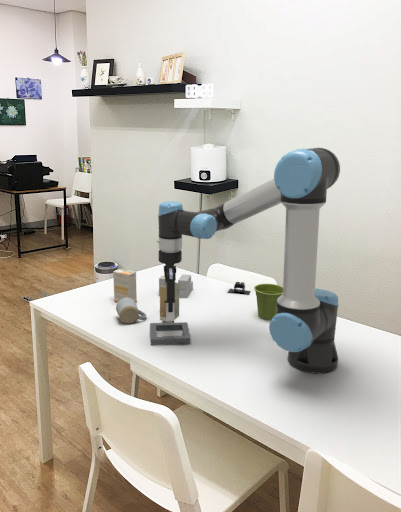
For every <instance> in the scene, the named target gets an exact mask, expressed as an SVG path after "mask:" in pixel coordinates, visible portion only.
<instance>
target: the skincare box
mask: <svg viewBox="0 0 401 512" xmlns="http://www.w3.org/2000/svg"><path fill="white" fill-rule="evenodd" d="M166 300H167V282H166V283H164V284H163V285H161V286H160V296H159V321H166V303H164V301H166ZM179 317H180V298H179V283H178V281H177V282H176V281H175V311H174V321H176V319H178V318H179ZM166 322H172V321H166Z"/></svg>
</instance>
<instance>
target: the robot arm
mask: <svg viewBox="0 0 401 512" xmlns="http://www.w3.org/2000/svg"><path fill="white" fill-rule="evenodd" d="M340 173H341V163H340V161H339V159H338V156H336V154H335V153H334V152H332V151H331V150H330V149H327V148H324V147H313V148H298V149H294V150H291V151H289V152H287V153H285V154H284V155H282V157H281V158H280V159H279V160H278V162H277V163H276V165H275V168H274V172H273V178H272V179H270V180H268V181H265V182H264V183H262V184H260V185H257V186H256V187H255V188H252V189H251V190H248V191H246V192H244V193H242V194H240V195H238V196H236V197H234V198H232V199H230V200H227V201H226V202H224V203H221V204H220V205H218V206H215V207H213V208H208V209H204V210H199V211H190V210H189V211H188V210H184V207H183V203H181V202H179V201H172V200H171V201H167V200H166V201H163V202H161V203H159V205H158V215H157V218H158V239H157V240H156V243H158V262H159V263H161V264H164V265H163V273H164V275H163V276H164V277H165V283H166V282H167V300H166V301H164V303H166V321H174V322H175V320H174V311H175V282H176V281H177V279H176V277H177V276H176V275H177V267H176V265H175V264H179V263H182V259H183V258H182V257H183V256H182V255H183V253H182V249H183V236H188V237H192V238H196V239H200V240H201V239H203V240H210V239H212V237H213V236H214V235H215V234H216V232H219V231H222V230H227V229H229V228H231V227H232V226H234V225H236V224H239V223H240V222H242V221H244V220H247V219H249V218H252V217H253V216H256V215H257V214H259V213H262V212H264V211H267V210H269V209H271V208H274V207H276V206H278V205H280V204H282V205H283V206H284V208H285V225H284V226H285V227H284V228H285V230H284V252H283V253H284V254H283V256H284V257H283V281H282V282H283V283H282V287H283V294H282V295H281V296H280V297H279V298H278V299H277V314H276V315H275V316H274V317H273V318H272V320H270V322H269V326H268V329H269V334H270V336H271V339H272V341H274V342H275V343H276V345H277V346H278V347H279V348H281V349H282V350H284V351H287V352H288V353H287V361H288V363H289V364H290V365H291V366H292V367H293V368H295V369H297V370H299V371H301V372H302V371H303V372H306V373H310V374H326V373H331V372H333V371H335V370H336V369H337V367H338V366H339V365H338V364H339V355H338V351H337V347H336V342H335V335H336V327H337V326H336V325H337V319H338V310H339V296H338V295H337V294H336V293H334V292H333V291H330V290H326V289H321V288H316V282H317V281H316V280H317V279H316V278H317V264H318V262H317V261H318V246H319V245H318V242H319V225H320V211H321V210H320V209H322V207H323V206H324V205H326V203H327V194H328V193H327V192H328V191H327V190H328V189H330V188H332V186H333V185H335V183H336V182H337V181H338V179H339V177H340Z"/></svg>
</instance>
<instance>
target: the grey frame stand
mask: <svg viewBox="0 0 401 512" xmlns="http://www.w3.org/2000/svg"><path fill="white" fill-rule="evenodd" d="M161 321H162V320H161ZM173 331H175V332H176V331H177V332H178V331H179V332H180V331H181V333H182V335H165V336H164V335H163V336H160V335H159V336H157V332H173ZM149 335H150V346H173V345H175V346H176V345H177V346H178V345H179V346H181V345H182V346H183V345H191V340H192V339H191V334H190V330H189V325H188V321H187V322H185V321H184V322H175V320H174V321H172V322H166V321H162V322H150V323H149Z"/></svg>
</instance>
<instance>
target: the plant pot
mask: <svg viewBox="0 0 401 512" xmlns="http://www.w3.org/2000/svg"><path fill="white" fill-rule="evenodd" d="M253 289H254V291H255V296H256V305H257V316H258V317H259V318H260V319H263V320H267V321H271V320H272V318H273V317H274V316H275V315H276V314H277V299H278V298H279V297H280V296H281V295H282V294H283V285H282V286H281V285H279V284H274V283H260V284H256V285H254V287H253Z"/></svg>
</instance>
